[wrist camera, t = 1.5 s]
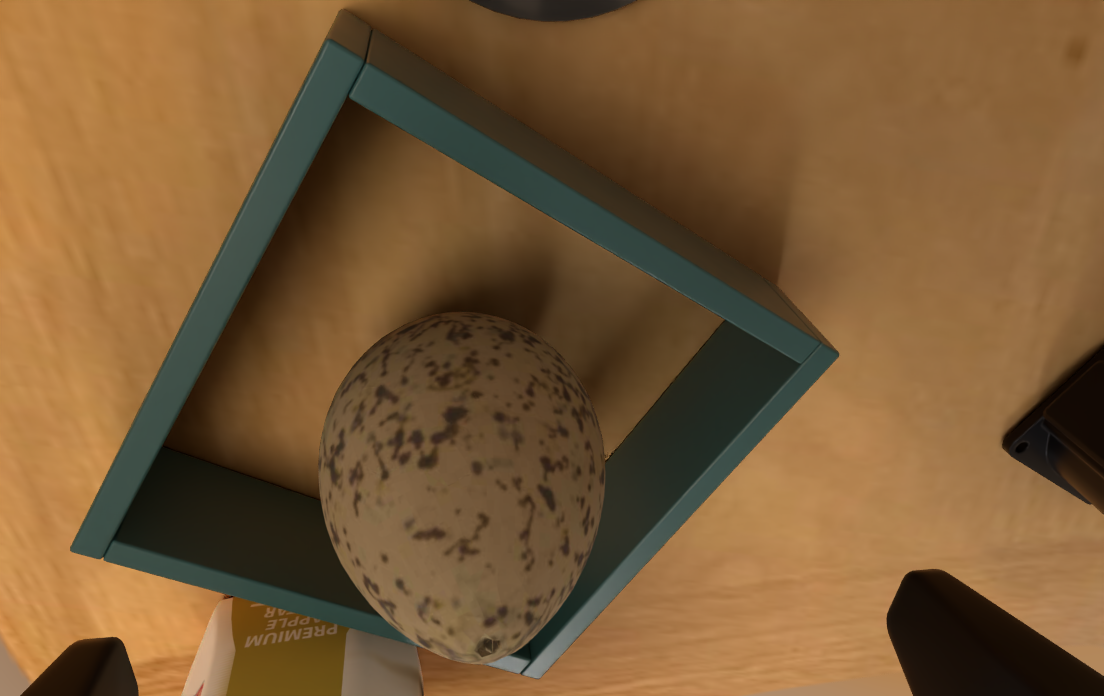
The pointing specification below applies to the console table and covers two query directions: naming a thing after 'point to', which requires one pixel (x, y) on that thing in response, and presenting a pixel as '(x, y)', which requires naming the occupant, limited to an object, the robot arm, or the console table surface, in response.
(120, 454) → the frame
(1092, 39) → the console table surface
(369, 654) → the juice carton
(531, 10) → the coaster
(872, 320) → the console table surface
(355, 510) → the decorative egg
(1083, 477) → the robot arm
